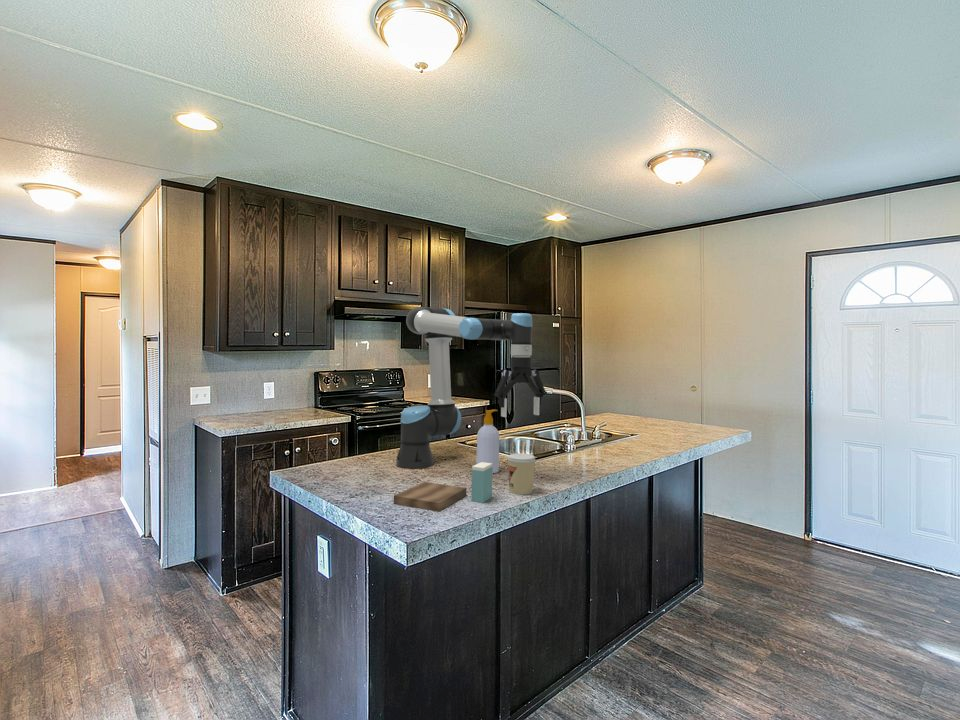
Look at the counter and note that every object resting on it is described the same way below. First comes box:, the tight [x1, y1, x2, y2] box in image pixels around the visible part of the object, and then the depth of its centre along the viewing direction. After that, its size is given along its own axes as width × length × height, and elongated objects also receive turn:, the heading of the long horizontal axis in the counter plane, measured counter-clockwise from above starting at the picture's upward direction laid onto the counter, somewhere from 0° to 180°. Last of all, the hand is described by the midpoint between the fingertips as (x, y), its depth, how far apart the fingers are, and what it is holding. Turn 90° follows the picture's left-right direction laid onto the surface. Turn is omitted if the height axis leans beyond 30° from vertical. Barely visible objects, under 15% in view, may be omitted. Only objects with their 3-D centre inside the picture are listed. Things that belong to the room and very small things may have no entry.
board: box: [393, 481, 467, 512], centre depth 164 cm, size 16×18×2 cm
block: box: [470, 462, 493, 504], centre depth 165 cm, size 4×7×11 cm, turn 155°
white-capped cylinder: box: [507, 452, 536, 496], centre depth 174 cm, size 9×9×12 cm
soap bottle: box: [476, 409, 500, 475], centre depth 201 cm, size 9×9×24 cm
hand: (520, 415), depth 186 cm, fingers open, 13 cm apart
